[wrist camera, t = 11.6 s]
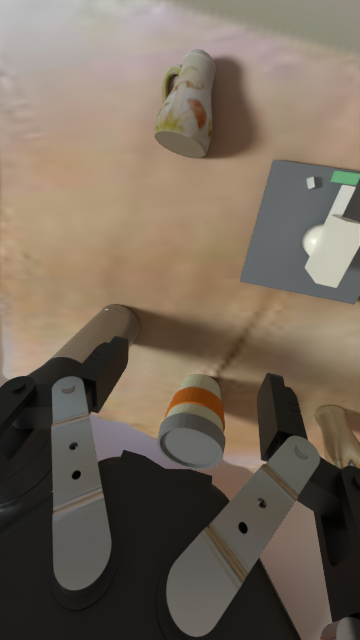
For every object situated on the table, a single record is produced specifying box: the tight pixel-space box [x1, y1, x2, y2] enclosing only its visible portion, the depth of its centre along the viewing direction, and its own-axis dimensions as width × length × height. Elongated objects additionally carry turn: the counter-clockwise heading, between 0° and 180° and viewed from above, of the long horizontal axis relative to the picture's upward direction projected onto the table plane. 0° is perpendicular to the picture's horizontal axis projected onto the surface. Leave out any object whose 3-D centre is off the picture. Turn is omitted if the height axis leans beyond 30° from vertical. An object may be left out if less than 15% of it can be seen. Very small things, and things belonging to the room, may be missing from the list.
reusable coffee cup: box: [158, 374, 225, 469], centre depth 50 cm, size 13×13×15 cm
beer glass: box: [314, 405, 360, 469], centre depth 46 cm, size 7×7×15 cm
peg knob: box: [302, 185, 360, 288], centre depth 30 cm, size 10×4×9 cm, turn 172°
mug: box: [155, 49, 216, 158], centre depth 30 cm, size 8×10×10 cm
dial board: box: [240, 160, 360, 304], centre depth 35 cm, size 17×18×2 cm
